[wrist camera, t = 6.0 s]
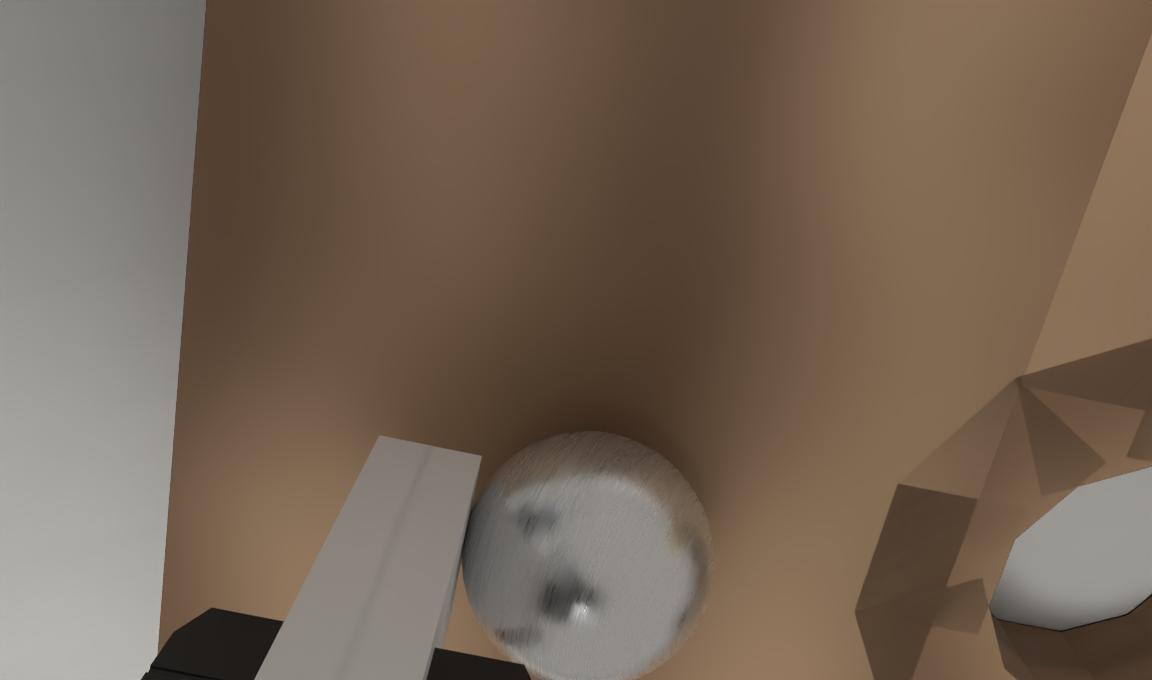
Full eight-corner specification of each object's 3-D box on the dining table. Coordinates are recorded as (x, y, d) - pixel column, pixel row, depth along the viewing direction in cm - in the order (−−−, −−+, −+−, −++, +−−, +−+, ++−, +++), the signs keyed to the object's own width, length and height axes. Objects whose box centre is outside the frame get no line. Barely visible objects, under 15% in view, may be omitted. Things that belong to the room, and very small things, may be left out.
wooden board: (195, 767, 21) (141, 869, 18) (287, -223, 15) (226, -263, 12) (1243, 957, 21) (1322, 1078, 19) (1731, 90, 15) (1933, 110, 13)
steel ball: (438, 445, 12) (704, 555, 11) (552, 367, 15) (769, 449, 14) (394, 671, 13) (631, 788, 12) (508, 558, 16) (706, 645, 15)
